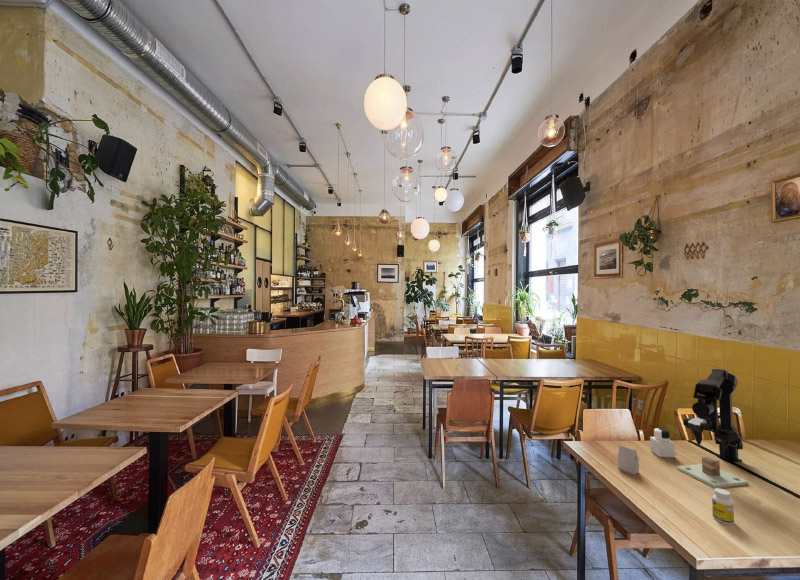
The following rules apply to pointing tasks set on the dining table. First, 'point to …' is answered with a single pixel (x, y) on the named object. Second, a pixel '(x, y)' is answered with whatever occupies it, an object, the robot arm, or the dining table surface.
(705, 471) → the brown rectangular block
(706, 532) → the dining table surface
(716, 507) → the supplement bottle
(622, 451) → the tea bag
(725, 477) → the baseplate
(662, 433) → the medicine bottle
